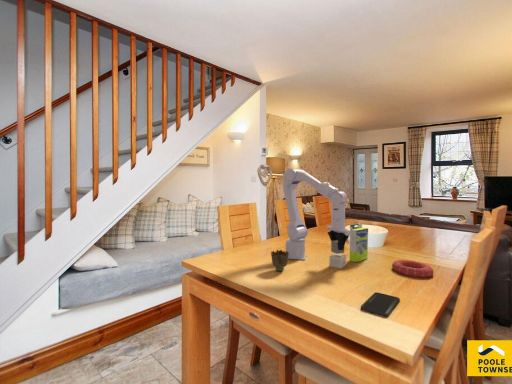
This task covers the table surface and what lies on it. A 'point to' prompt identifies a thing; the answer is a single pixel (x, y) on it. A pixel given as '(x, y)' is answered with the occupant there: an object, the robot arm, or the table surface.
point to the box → (358, 242)
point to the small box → (337, 261)
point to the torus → (412, 268)
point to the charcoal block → (335, 247)
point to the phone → (380, 304)
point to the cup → (279, 259)
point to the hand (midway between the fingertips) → (337, 248)
